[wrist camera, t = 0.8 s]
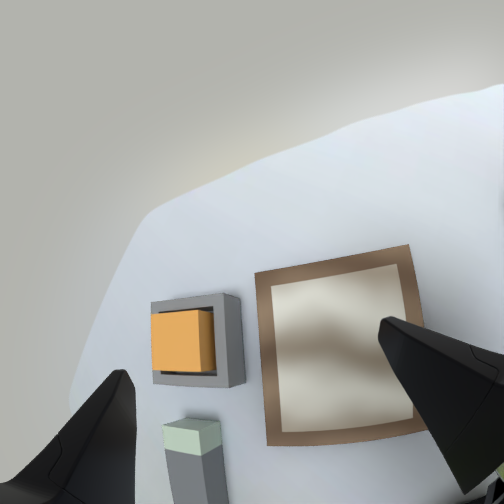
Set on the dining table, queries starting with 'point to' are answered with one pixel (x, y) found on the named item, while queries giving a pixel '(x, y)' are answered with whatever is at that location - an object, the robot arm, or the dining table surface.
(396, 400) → the board
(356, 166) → the dining table surface
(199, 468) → the grey green block
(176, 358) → the button
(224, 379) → the button housing
